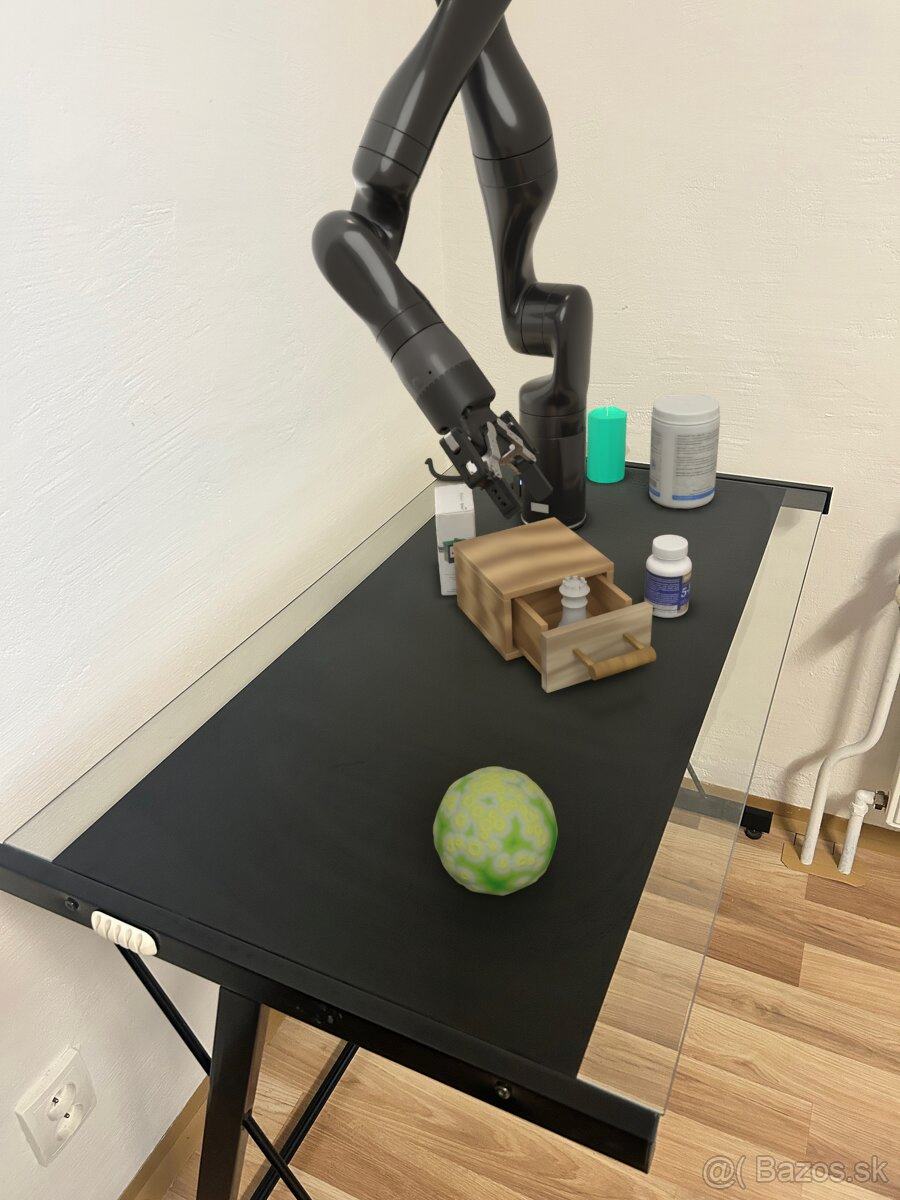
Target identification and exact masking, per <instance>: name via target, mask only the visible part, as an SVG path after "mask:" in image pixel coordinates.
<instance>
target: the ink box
mask: <svg viewBox="0 0 900 1200" xmlns="http://www.w3.org/2000/svg"><path fill="white" fill-rule="evenodd" d="M434 513H435V515H434V516H435V535H436V545H437V559H438V569H439V570H438V571H439V580H440V592H441V593H440V594H441V595H442V596H457V588H456V575H455V561H454V548H453V543H455V542H459V541H463V540H467V539H471V538H475V537H477V533H476V531H477V530H476V514H475V503H474V495H473V489H470V488H469V487H468V486H467V485H466V483H459V484H452V485H442V486H435V487H434Z"/></svg>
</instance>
